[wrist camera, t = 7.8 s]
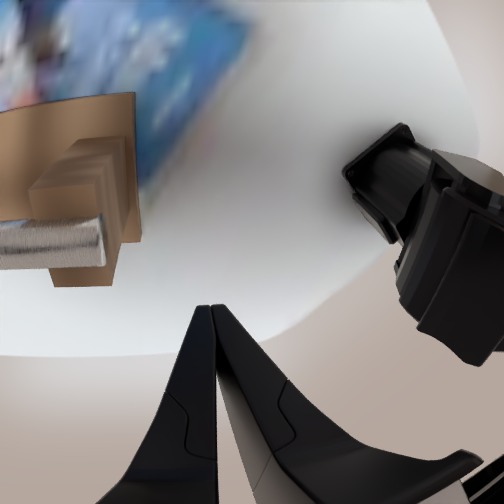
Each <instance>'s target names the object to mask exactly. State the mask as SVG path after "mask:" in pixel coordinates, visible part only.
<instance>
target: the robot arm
mask: <svg viewBox="0 0 504 504" xmlns="http://www.w3.org/2000/svg"><path fill="white" fill-rule="evenodd" d="M403 128H404V131H403V132H402V129H403ZM349 171H352V172H351V174H350V175H348V173H349ZM343 176H344V178H345V179H346V181H347V182H348V183H349V185H350V186H351V188H352V189H353V191H354V192H355V193H353V195H352V198H353V200H354V201H355V203H356V204H357V206H358V207H359V209H360V211H361V212H362V214H363V215H364V217H365V218H366V219H367V220H368V221H369V222H370V223H371V224H372V225H373V227H374V228H375V229H376V230H377V231H378V232H379V233H380V234H381V235H382V236H383V237H384V239H385V240H386V241H387V242H388V243H389V244H394V243H396V242H397V241H398V242H399V243H400V244H401V245H402V247H403V248H402V251H401V253H400V256H399V259H398V260H396V262H395V265H394V270H395V273H396V286H397V289H398V292H399V295H400V298H399V302H400V304H401V305H402V306H403V308H404V309H405V310H406V312H407V313H408V314H410V315H411V316H412V317H413V318H414V319H415V320H416V321H417V322H419V324H418V325H417V327H416V328H417V330H418V331H420V332H422V333H425V334H428V335H430V336H432V337H434V338H436V339H437V340H439V341H440V342H442V343H444V344H445V345H446V346H447V347H448V348H450V349H451V350H452V351H453V352H454V353H455V354H456V355H457V356H458V357H459V358H460V359H461V360H462V361H463V362H465V363H467V364H470V365H473V366H477V367H479V366H481V365H483V363H484V362H485V361H486V360H487V358H488V357H489V356H490V355H491V353H492V352H504V176H503V175H502V173H500V172H499V171H497V170H495V169H493V168H491V167H489V166H488V165H486V164H484V163H482V162H480V161H478V160H476V159H473V158H469V157H465V156H461V155H457V154H453V153H449V152H444V151H440V150H436V149H433V150H432V151H431V150H430V149H428V148H426V147H424V146H422V145H421V144H419V143H417V142H416V141H415V139H414V137H413V135H412V133H411V130H410V128H409V127H408V125H406V124H403V123H400V124H399V125H397V126H396V127H395V128H394V129H392V130H391V131H390V132H389V133H387V134H386V135H385V136H384V137H382V138H381V139H380V140H379V141H377V142H376V143H375V144H374V145H372V146H371V147H370V148H369V149H367V150H366V151H365V152H364V153H362V154H361V155H360V156H359V157H357V158H356V159H355V160H354V161H352V162H351V163H350V164H349V165H347V166H346V167H345V168H344V169H343ZM216 374H217V378H218V382H219V385H220V389H221V392H222V396H223V400H224V403H225V406H226V410H227V413H228V417H229V420H230V423H231V427H232V430H233V433H234V436H235V440H236V443H237V446H238V449H239V453H240V456H241V459H242V462H243V465H244V468H245V471H246V474H247V477H248V480H249V483H250V486H251V488H252V491H253V495H254V498H255V500H256V503H257V504H504V454H503V455H501V456H500V457H498V458H497V459H495V460H494V461H493V462H491V463H490V464H488V465H487V466H486V467H484V468H483V469H481V470H480V471H478V472H477V473H476V474H474V475H473V476H471V477H470V478H468V479H467V480H465V481H464V482H461V480H460V479H461V478H462V477H464V476H465V475H467V474H468V473H470V472H471V471H473V470H474V469H475V468H477V467H478V466H480V465H481V464H482V463H483V462H484V461H483V460H482V459H481V458H480V457H479V456H478V455H476V454H474V453H472V452H469V451H466V450H463V449H460V450H458V451H456V452H454V453H452V454H451V455H449V456H447V457H445V458H443V459H440V460H429V461H428V460H422V459H416V458H412V457H408V456H404V455H399V454H396V453H392V452H388V451H384V450H380V449H377V448H373V447H370V446H368V445H365V444H363V443H361V442H359V441H358V440H356V439H354V438H353V437H351V436H350V435H349V434H348V433H347V432H345V431H344V430H343V429H342V428H340V427H339V426H338V425H337V424H336V423H334V422H333V421H332V420H331V419H329V418H328V417H327V416H326V415H324V414H323V413H322V412H321V411H320V410H319V409H318V408H317V407H315V406H314V405H313V404H312V403H311V402H310V401H309V400H307V398H305V396H304V395H303V394H302V393H301V392H300V391H299V390H298V389H297V388H296V387H295V386H294V385H293V383H292V382H291V381H290V380H287V379H288V378H287V377H286V376H285V375H284V374H283V372H282V371H281V370H280V369H279V368H278V367H277V365H276V364H275V363H274V362H273V361H272V360H271V359H270V358H269V356H268V355H267V354H266V353H265V352H264V351H263V349H262V348H261V347H260V346H259V345H258V344H257V342H256V341H255V340H254V339H253V338H252V337H251V335H250V334H249V333H248V332H247V331H246V329H245V328H244V327H243V326H242V325H241V323H240V322H239V321H238V320H237V319H236V317H235V316H234V315H233V314H232V313H231V311H230V310H229V309H228V308H227V307H226V306H225V305H224V304H214V305H211V307H210V305H198V306H197V307H196V308H195V311H194V314H193V316H192V319H191V322H190V324H189V327H188V329H187V332H186V335H185V337H184V340H183V343H182V345H181V348H180V351H179V353H178V356H177V359H176V362H175V364H174V367H173V370H172V372H171V375H170V378H169V381H168V383H167V386H166V389H165V392H164V394H163V397H162V400H161V402H160V405H159V407H158V410H157V412H156V415H155V417H154V419H153V421H152V423H151V426H150V428H149V430H148V432H147V434H146V435H145V438H144V439H143V441H142V443H141V445H140V447H139V449H138V451H137V452H136V454H135V456H134V458H133V460H132V462H131V464H130V465H129V467H128V469H127V471H126V472H125V474H124V475H123V477H122V478H121V479H120V480H119V482H118V483H117V484H116V485H115V486H114V487H113V488H111V490H110V491H108V492H107V493H106V494H105V495H104V496H103V497H102V498H101V499H100V500H99V501H98V502H96V504H219V492H218V464H217V411H216V410H217V409H216V406H217V405H216Z"/></svg>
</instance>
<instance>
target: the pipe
mask: <svg viewBox="0 0 504 504" xmlns="http://www.w3.org/2000/svg"><path fill="white" fill-rule="evenodd" d="M100 216H101V217H100ZM103 219H104V220H105V217H104V215H103V213H100V214H99V216H94V217H78V218H64V219H50V220H37V221H35V220H34V218H27V219H16V220H5V221H0V270H8V269H40V268H71V267H99V266H105V264H106V256H105V251H104V246H103V241H104V240H102V234H103V232H104V230H103V229H106V228H103V227H104V226H103V224H104V223H105V222H106V220H105V221H104V223H103V222H102V220H103ZM101 222H102V223H101ZM104 225H105V224H104ZM101 226H102V228H101ZM105 227H107V226H106V225H105ZM102 231H103V232H102ZM101 233H102V234H101ZM103 236H106V233H105V235H103ZM106 237H107V236H106ZM104 243H105V241H104ZM106 243H107V242H106ZM104 245H105V244H104Z"/></svg>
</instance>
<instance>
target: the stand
mask: <svg viewBox="0 0 504 504" xmlns="http://www.w3.org/2000/svg"><path fill="white" fill-rule="evenodd" d="M100 213H103V215H104V217H105V220H106V222H105V223H104V221H105V220H104V219H103V220H102V222H103V223H104V224H105V225H106V226H107V227H105V225H104V224H103V226H104V227H103V228H106V229H103V230H104V232H103V231H102V232H103V234H102V233H101V234H102V240H104V241H105V243H104V241H103V246H104V251H105V256H106V264H105V266H99V267H71V268H48V269H49V272H50V275H51V278H52V281H53V284H54V287H90V286H112V282H113V277H114V273H115V268H116V263H117V259H118V254H119V250H120V246H121V243H131V242H140V241H141V225H140V214H139V202H138V188H137V171H136V148H135V92H125V93H113V94H103V95H94V96H86V97H78V98H71V99H64V100H58V101H52V102H46V103H41V104H35V105H30V106H25V107H21V108H16V109H12V110H8V111H3V112H0V221H5V220H16V219H27V218H34V220H35V221H37V220H50V219H64V218H78V217H94V216H99V214H100ZM100 217H101V216H100ZM102 222H101V223H102ZM101 228H102V226H101ZM105 233H106V236H107V237H106V236H103V235H105ZM106 242H107V243H106ZM104 244H105V245H104Z"/></svg>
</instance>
